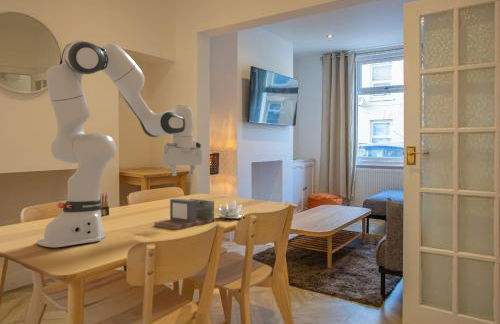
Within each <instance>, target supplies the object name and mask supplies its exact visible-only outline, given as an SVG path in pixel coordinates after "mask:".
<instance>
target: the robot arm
mask: <svg viewBox="0 0 500 324" xmlns="http://www.w3.org/2000/svg"><path fill="white" fill-rule="evenodd" d="M100 71H102V72H103V73H104V74H105V75H106V76H108V79H110V81H112V82H113V84H114V85H115V86H116V87H117V89H118V91H119V92H120V93H121V96H122V99H123V100H124V101H125V103H126V104H127V105H128V107H129V108H130V110H131V111H132V112H133V114H134V116H136V118H137V120H138V121H139V124H140V126H141V128H142V131H143V132H144V134H145V135H147V136H148V137H150V138H157V137H161V136H171V135H172V142H167V143H166V144H165V145H164V147H163V155H162V164H163V165H164V166H169V169H170V171H171V175H172V177H178V173H179V172H178V171H176V168H177V166H189V167H190V168H189V171H188V172H187V173H188V176H194V171H195V169H197V168H196V167H197V166H201V165H202V163H203V151H202V147H203V144H202V143H201V142H199V141H197V140H196V139H194V137H195V136H194V132H193V131H194V128H195V127H194V125H195V124H194V122H195V121H194V119H195V118H194V113H193V109H192V108H190V107H189V106H186V105H179V104H178V105H175V106H174V107H173V108H171V109H169V110H165V111H162V112H157V113H156V112H154V111H153V110H151V109H150V107H149V106H148V105H147V103H146V102H145V100H144V99H143V97H142V94H141V91H142V90H143V88H144V85H145V81H146V77H145V75H144V73H143V71H142V69H141V68H140V66H139V65H138V63H136V62H135V61H134V60H133V58H132V57H131V56H130V54H128V53H127V52H126V51H125V50H124V49H123V48H122V47H121V46H120V45H118V44H117V43H108V44H105V45H103V46H101V47H100V46H98V45H96V44H94V43H91V42H88V41H84V40H75V41H73V42H70V43H68V44H67V45H65V47H64V49H63V51H62V54H61V58H60V62H59V64H56V65H53V66H51V67H49V68H48V69H47V70H46V73H45V81H46V86H47V91H48V95H49V98H50V102H51V105H52V108H53V112H54V116H55V119H56V124H57V131H56V135H55V138H54V139H53V140H52V143H51V148H50V151H51V153H52V156H53V157H54V158H55V159H56V160H57V161H60V162H64V163H68V164H70V163H71V164H77V165H78V166H77V168H76V171H75V172H74V174H73V175H71V176H69V178H68V180H67V200H66V201H65V202H58V203H57V204H56V206H57V208H58V209H62V212H61V213H60V214H58V215H57V216H56V217H54V218H53V219H52V220H51V221H50V222H48V223H47V224H46V226H45V229H44V233H43V234H44V236H43V237H42V238H39V239H37V240H36V244H37V245H39V246H42V247H47V248H61V247H62V248H63V247H68V246H75V245H80V244H87V243H88V244H89V243H95V242H100V241H102V239H103V238H104V237H106V234H105V230H104V228H103V227H104V226H103V221H102V217H101V209H102V205H101V199H102V198H101V199H100V193H101V181H102V176H103V172H104V170H105V168H106V166H107V164H108V163H109V162H110V161H111V160H113V158H115V156H116V153H117V144H116V142H115V140H114V139H113V137H112V136H110V135H107V134H103V133H98V132H94V133H93V132H91V133H89V132H88V133H85V128H84V126H85V122H87V120H89V118H90V116H91V115H90V114H91V113H90V109H89V106H88V105H89V104H88V103H87V98H86V95H85V92H84V88H83V86H82V85H83V83H82V78H83V76H84V75H91V74H92V75H93V74H96V73H97V72H100Z"/></svg>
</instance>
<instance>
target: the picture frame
mask: <svg viewBox="0 0 500 324" xmlns="http://www.w3.org/2000/svg"><path fill="white" fill-rule="evenodd" d="M169 203H170V205H169V206H170V207H169V209H170V210H169V211H170V213H169V214H170V219H169V220H174V221H181V222H187V223H191V222H196V200H190V199H187V198H171V199H170V200H169Z"/></svg>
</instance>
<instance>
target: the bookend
mask: <svg viewBox="0 0 500 324" xmlns="http://www.w3.org/2000/svg"><path fill="white" fill-rule="evenodd" d="M189 200H196V222H191V223H187V222H181V221H174V220H170V219H165V220H160V221H156V222H154V227H159V228H165V229H172V230H176V231H178V230H182V229H187V228H191V227H196V226H201V225H206V224H210V223H215V200H210V199H201V198H200V199H199V198H189Z"/></svg>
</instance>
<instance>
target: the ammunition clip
mask: <svg viewBox="0 0 500 324" xmlns="http://www.w3.org/2000/svg"><path fill="white" fill-rule="evenodd" d="M100 199H101V205H102V209H101V218H102V217H107V216H110V208H109V207H110V206H109V200H108V192H107V191H106V192H105V193H104V192H102V193H101V192H100Z"/></svg>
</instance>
